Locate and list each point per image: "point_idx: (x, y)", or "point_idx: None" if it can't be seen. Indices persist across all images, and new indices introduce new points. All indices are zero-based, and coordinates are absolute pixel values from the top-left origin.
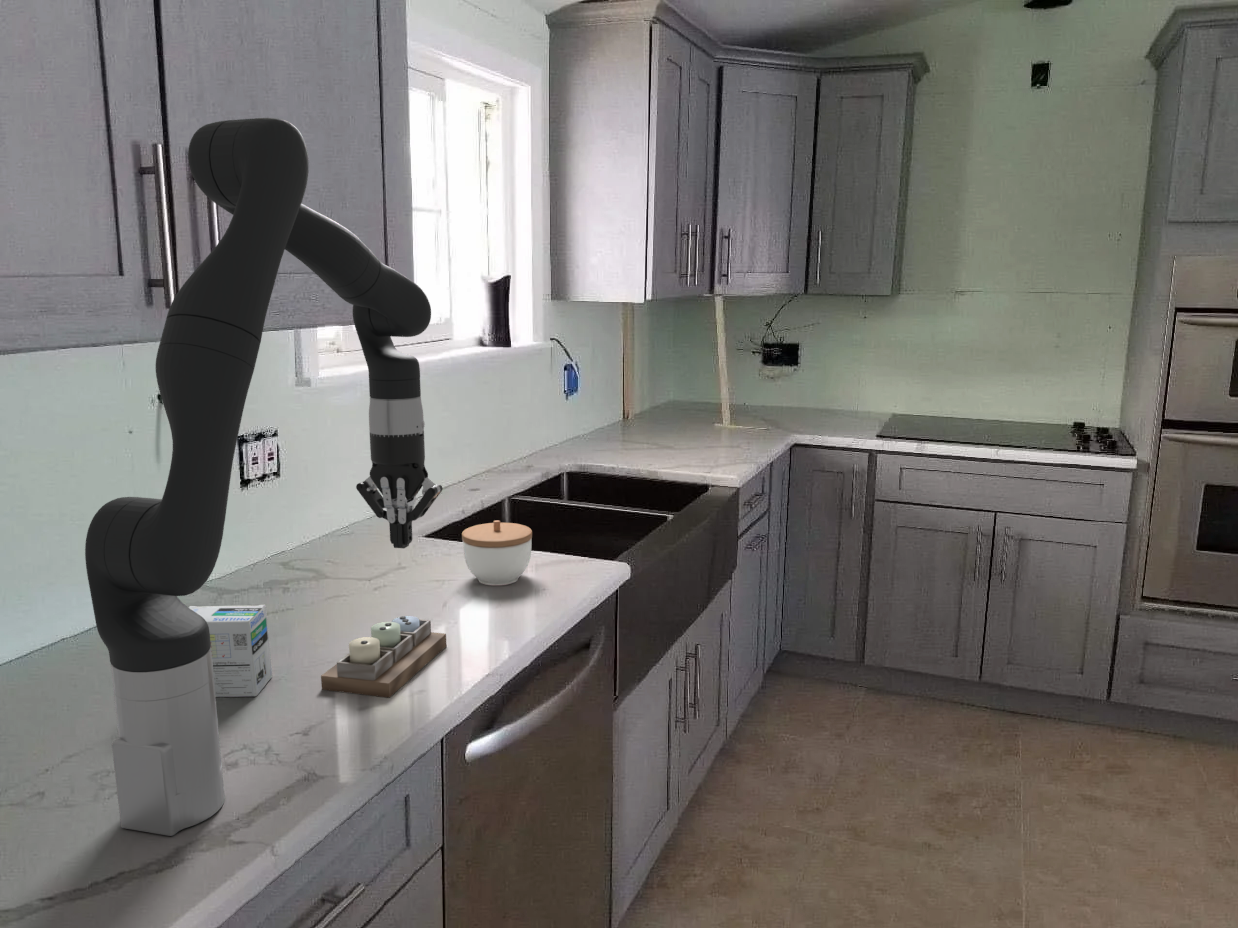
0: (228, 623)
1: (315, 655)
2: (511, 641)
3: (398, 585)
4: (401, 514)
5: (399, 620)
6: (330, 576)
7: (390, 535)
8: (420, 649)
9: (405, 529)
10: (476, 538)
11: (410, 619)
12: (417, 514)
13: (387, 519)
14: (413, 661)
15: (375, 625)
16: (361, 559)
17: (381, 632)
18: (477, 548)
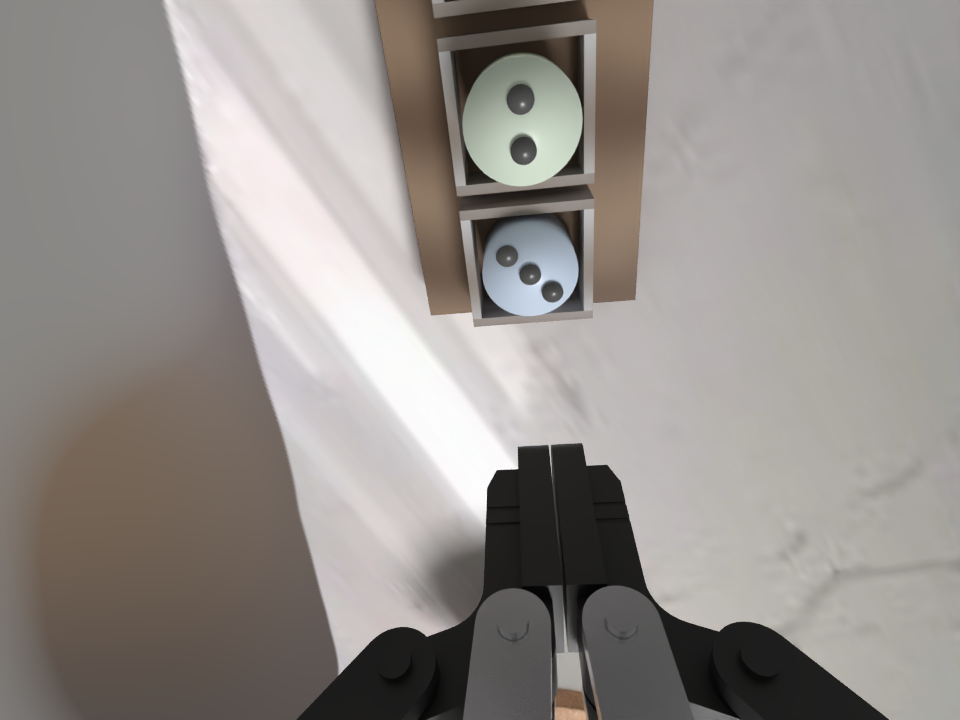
0: None
1: (810, 98)
2: (300, 372)
3: (750, 563)
4: (518, 676)
5: (553, 271)
6: (951, 570)
7: (622, 508)
8: (431, 181)
9: (501, 558)
10: (568, 714)
11: (520, 290)
12: (346, 689)
13: (671, 622)
14: (390, 75)
15: (572, 125)
16: (899, 649)
17: (505, 60)
18: (560, 683)
